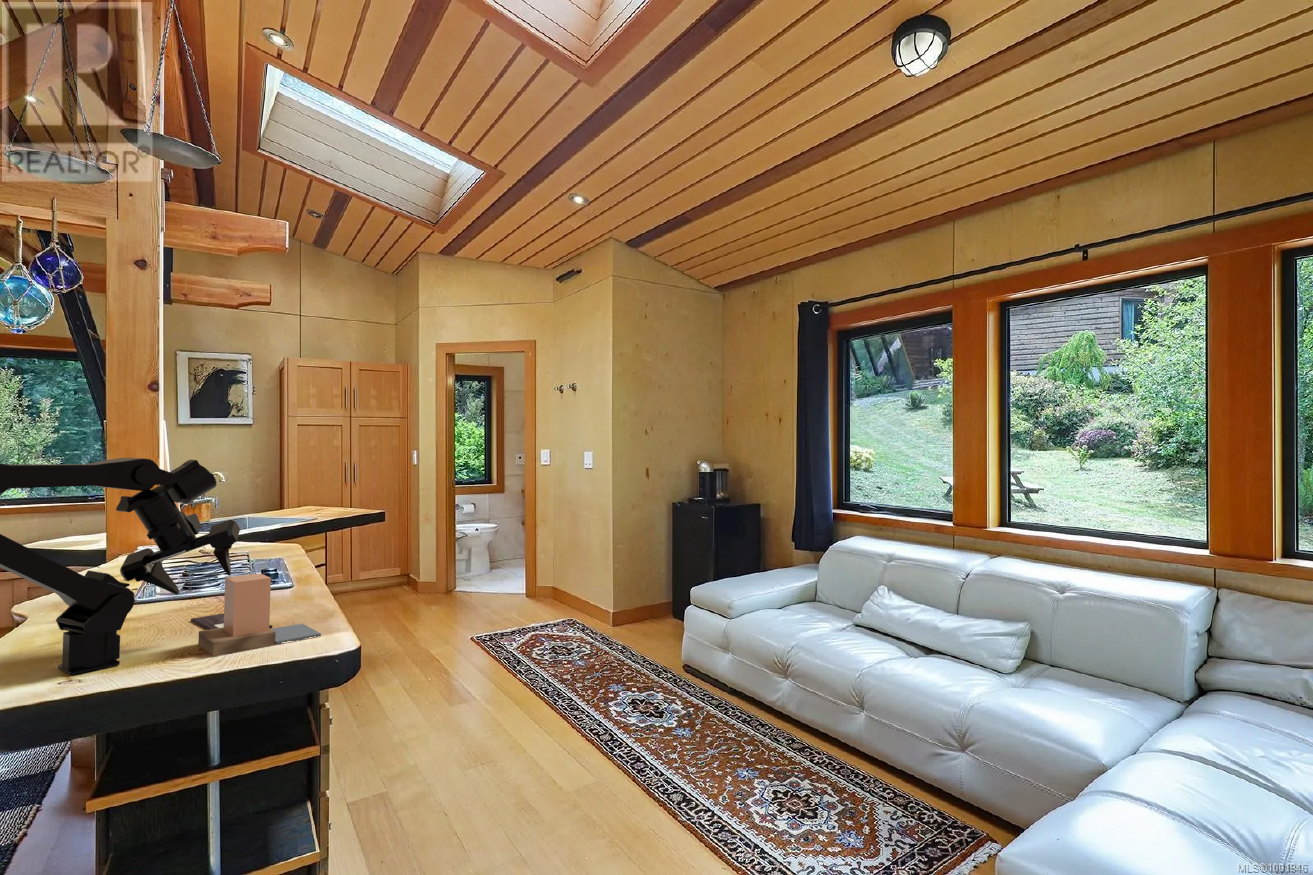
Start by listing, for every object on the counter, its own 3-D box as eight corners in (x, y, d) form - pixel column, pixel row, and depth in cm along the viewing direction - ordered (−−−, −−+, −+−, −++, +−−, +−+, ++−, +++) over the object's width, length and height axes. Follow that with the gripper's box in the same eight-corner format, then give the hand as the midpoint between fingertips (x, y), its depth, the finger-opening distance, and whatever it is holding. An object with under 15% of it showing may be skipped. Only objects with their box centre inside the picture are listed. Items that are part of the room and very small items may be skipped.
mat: (276, 644, 122) (276, 641, 122) (259, 633, 129) (259, 630, 129) (320, 636, 128) (320, 633, 128) (302, 626, 135) (302, 623, 135)
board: (213, 656, 115) (213, 642, 115) (198, 644, 121) (198, 631, 121) (275, 645, 122) (275, 631, 122) (258, 634, 129) (258, 621, 129)
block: (232, 636, 119) (234, 582, 119) (223, 629, 123) (225, 577, 123) (269, 630, 123) (270, 577, 123) (258, 624, 127) (260, 573, 127)
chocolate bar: (238, 611, 144) (272, 625, 133) (238, 615, 144) (272, 630, 133) (190, 618, 137) (222, 635, 126) (190, 623, 137) (222, 639, 126)
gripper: (224, 482, 128) (260, 544, 135) (117, 517, 122) (160, 580, 129) (215, 507, 119) (254, 572, 126) (98, 546, 113) (146, 612, 120)
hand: (204, 583), depth 125 cm, fingers open, 9 cm apart
